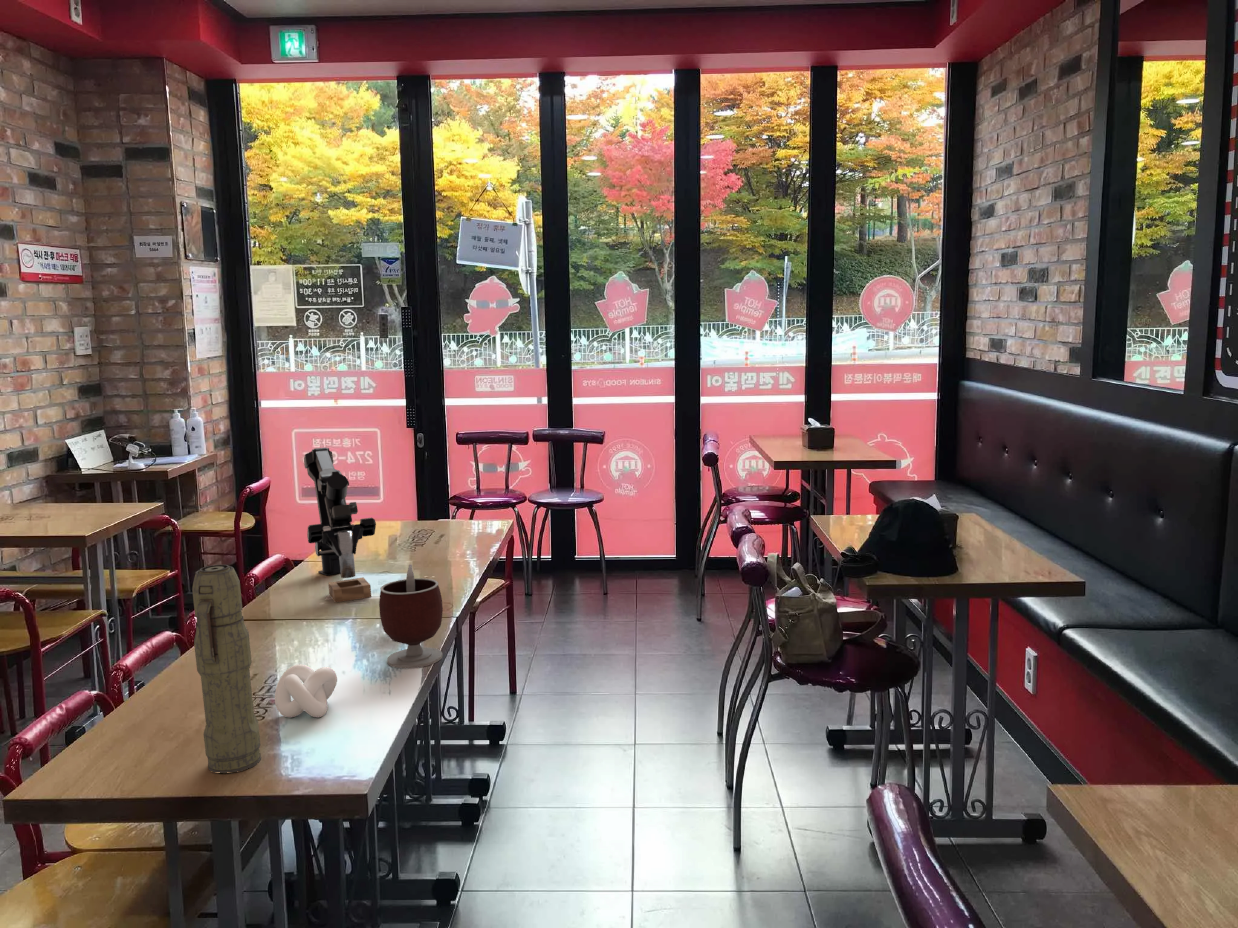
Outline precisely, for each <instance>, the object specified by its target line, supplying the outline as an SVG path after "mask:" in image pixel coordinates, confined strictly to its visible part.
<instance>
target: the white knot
mask: <svg viewBox="0 0 1238 928" xmlns="http://www.w3.org/2000/svg"><path fill="white" fill-rule="evenodd" d="M337 684H338V677H337V673H336V671H335V670H334V669H333V668H331V667H328V666H326V667H325V666H324V667H323V666H322V667H319V668H317V669H315V670H314V669H313V668H311V667H310V666H308V665H306V664H300V663H299V664H294V665H292V666H290V667H289V668H287V669H286V670H285V671H284V672H283V673H282V674H281V676H280V678H279V680H278V682H277V684H276V688H275V693H274V703H275V707H276V709H277V711H278V712H279V714H280V715H282V716H283V717H285V718H296V717H298V716H299V715H301V714H302V713H303V712H305V713H306V714H308V715H309V716H311V717H314V718H321V717H323V716H325V714H326V713H327V711H328V699H329V698H330V697H331V696H332V694H333V693H334V692H335V689H336V686H337ZM292 699H293V700H292Z"/></svg>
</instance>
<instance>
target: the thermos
mask: <svg viewBox="0 0 1238 928" xmlns="http://www.w3.org/2000/svg"><path fill="white" fill-rule="evenodd" d="M194 573H195V575H194V578H193V582H192V589H191V590H192V599H193V600H192V601H193V608H194V609H193V610H194V616H195V617H196V623H195V626H196V627H195V629H196V631H195V635H194V639H193V645H194V654H195V663H196V672H197V673H198V674H199V676H200V680H201V681H200V683H201V690H202V699H203V708H204V717H205V718H204V720H205V726H204V730H203V731H204V732H203V740H204V750H205V751H204V752H205V756H206V757H207V763H208V764H207V768H208V769H209V770H210V771H213V772H220V773H227V772H237V771H241V772H244V771H246V770H245V769H247V770H249V769H251V768H253V767H256V765H258V764H259V763H260V762H261V760H262V757H261V752H260V751H261V750H260V747H261V738H260V737H261V736H260V728H259V721H258V718H257V717H256V715H255V709H254V702H253V701H254V699H253V690H252V681H251V672H250V671H251V666H252V653H251V651H252V650H251V641H250V633H249V631H248V630H249V629H248V628H247V625H246V624H245V620H244V619H245V618H244V616H243V602H242V601H243V600H242V593H241V592H242V591H241V583H240V581H241V580H240V579H239V577H238V574H237V571H236V570H235V568H234V567H233V566H230V565H228V564H213V565H208V566H204V567H201V568H199V569H198V570H197V571H195V572H194ZM257 763H258V764H257ZM248 768H249V769H248ZM208 769H207V770H208ZM209 770H208V771H209ZM243 770H244V771H243ZM210 771H209V772H210ZM237 773H238V772H237Z"/></svg>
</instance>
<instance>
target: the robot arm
mask: <svg viewBox="0 0 1238 928" xmlns="http://www.w3.org/2000/svg"><path fill="white" fill-rule="evenodd" d="M303 464H304V465H303V466H304V468H305V469H306V471H307V475H308V477H309V478H310V479H311V480H312V481H313V483H314V490H315V496H316V502H317V508H318V509H317V510H318V515H319V523H317V524H316V523H315V524H309V525H308V526H307V533H306V534H307V537H306V538H307V542H308V544H314V550H315V555H316V556H317V557H320V556H321V567H322V568H321V570H318V571H317V573H319V574H322V575H324V576H332V575H336V574H341V572H340V560H339V556H340V551H339V548H338V537H337V532H338V531H342V530H351V531H352V540H353V552H354V555H356V553H357V547H358V543H359V541H360V540H362V539H363V538H364V537H371V536H372V537H373V536H375V532H376V526H377V523H376V519H375V518H373V517H366V518H360V520H359V523H358V524H352V522H353V517H352V516H353V515H357V513H358V512H359V510H358V505H357V502H356V501H353V502H349V504H347V500H346V497H347V494H348V487H349V486H350V481H349V479H348V478H347V477H346V476H345V475H343V474H342V472H341V471H340V470H338V469H335V466H334V456H333V452H332V450H330V448H329V447H315V448H313V449H311V451H308V452H307V453H305V454H304V456H303Z"/></svg>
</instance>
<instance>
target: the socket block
mask: <svg viewBox="0 0 1238 928" xmlns="http://www.w3.org/2000/svg"><path fill="white" fill-rule="evenodd" d="M327 587H328V595H329V596H330V597H331V599H332V600H333V602H334V603H340V602H347V601H354V600H359V599H366V598H371V597H372V589H371V584H370V583H369V582H368V581H367V579H366V578H365V577H357V578H348V579H343V580H337V581H331V582H329V581H328V582H327Z"/></svg>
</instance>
